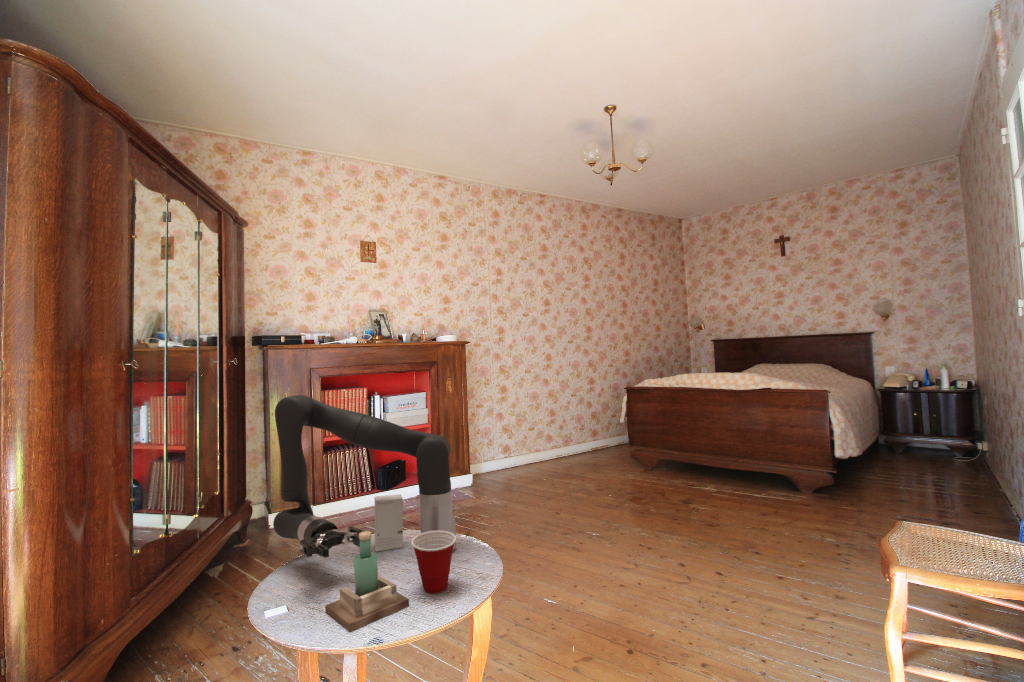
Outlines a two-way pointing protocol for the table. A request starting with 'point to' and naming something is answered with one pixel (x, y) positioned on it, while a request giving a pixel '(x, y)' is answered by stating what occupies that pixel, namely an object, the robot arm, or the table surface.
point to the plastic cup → (434, 558)
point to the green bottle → (365, 566)
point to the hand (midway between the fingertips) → (344, 547)
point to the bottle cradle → (366, 605)
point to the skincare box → (388, 522)
